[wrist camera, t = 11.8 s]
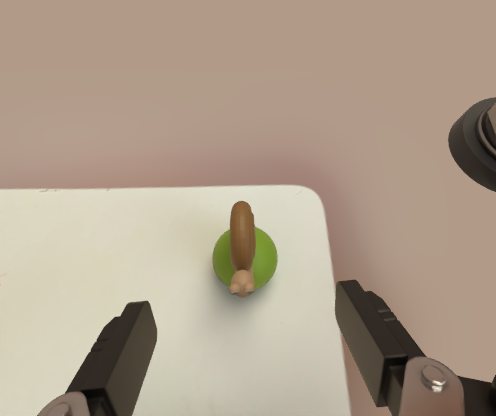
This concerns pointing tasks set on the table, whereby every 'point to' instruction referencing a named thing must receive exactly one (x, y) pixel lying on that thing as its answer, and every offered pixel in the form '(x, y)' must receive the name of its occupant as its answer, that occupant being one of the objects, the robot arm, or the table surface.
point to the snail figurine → (244, 253)
